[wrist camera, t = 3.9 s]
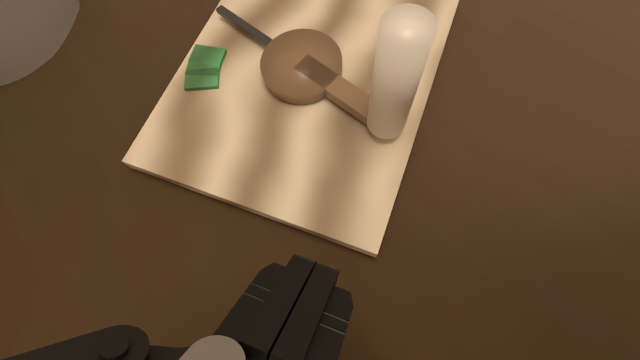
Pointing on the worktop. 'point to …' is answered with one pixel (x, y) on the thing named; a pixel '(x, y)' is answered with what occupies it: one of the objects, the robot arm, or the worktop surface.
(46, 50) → the lumpy-topped squat cylinder
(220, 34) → the striped cutting board
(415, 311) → the worktop surface
